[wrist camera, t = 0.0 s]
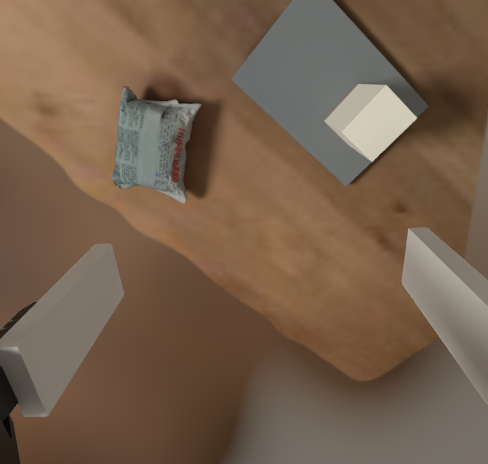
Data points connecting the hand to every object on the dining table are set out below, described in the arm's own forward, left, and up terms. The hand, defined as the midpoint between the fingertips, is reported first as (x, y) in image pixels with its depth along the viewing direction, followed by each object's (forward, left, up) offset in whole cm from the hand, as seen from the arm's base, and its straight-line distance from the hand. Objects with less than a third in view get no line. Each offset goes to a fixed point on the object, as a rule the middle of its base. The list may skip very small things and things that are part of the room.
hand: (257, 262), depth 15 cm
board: (-6, +8, -28) cm, 30 cm away
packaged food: (-1, -11, -28) cm, 31 cm away
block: (-3, +11, -27) cm, 29 cm away
